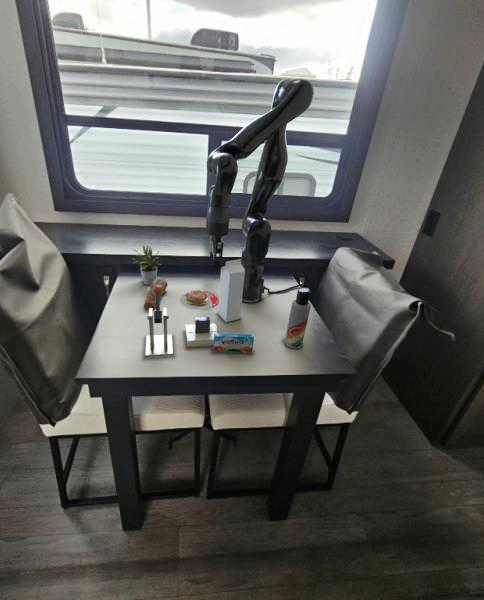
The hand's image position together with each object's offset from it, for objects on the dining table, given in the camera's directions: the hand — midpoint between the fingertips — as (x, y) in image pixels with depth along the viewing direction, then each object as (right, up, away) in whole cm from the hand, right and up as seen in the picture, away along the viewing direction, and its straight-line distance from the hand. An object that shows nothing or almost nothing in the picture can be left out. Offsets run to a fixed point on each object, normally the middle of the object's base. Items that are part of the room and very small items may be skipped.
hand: (214, 265), depth 111 cm
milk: (+5, -18, +5) cm, 20 cm away
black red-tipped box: (-4, -22, -10) cm, 25 cm away
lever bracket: (-17, -27, -14) cm, 34 cm away
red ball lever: (-17, -14, -15) cm, 26 cm away
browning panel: (-4, -25, -9) cm, 27 cm away
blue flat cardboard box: (+6, -28, -13) cm, 32 cm away
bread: (-23, -12, +12) cm, 29 cm away
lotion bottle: (+26, -27, -7) cm, 38 cm away
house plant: (-30, -4, +25) cm, 39 cm away
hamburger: (-6, -12, +14) cm, 20 cm away
